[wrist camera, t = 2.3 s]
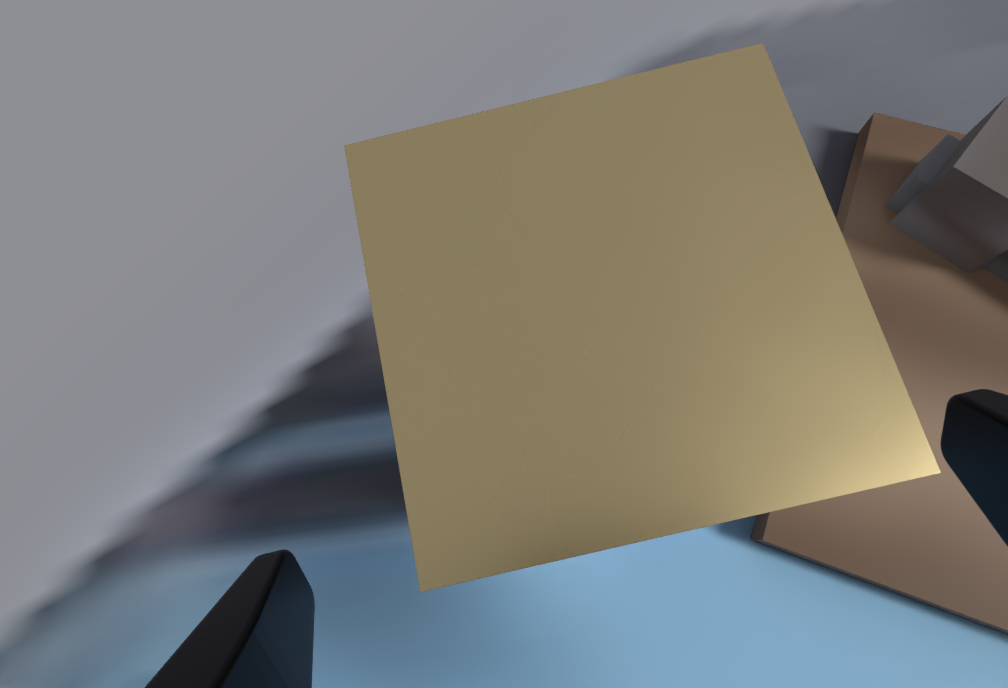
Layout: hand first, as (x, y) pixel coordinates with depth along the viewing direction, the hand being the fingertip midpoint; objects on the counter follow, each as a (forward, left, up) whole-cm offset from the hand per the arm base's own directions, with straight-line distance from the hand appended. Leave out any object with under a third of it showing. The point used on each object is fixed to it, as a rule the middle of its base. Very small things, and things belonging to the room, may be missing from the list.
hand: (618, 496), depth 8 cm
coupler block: (+1, +1, -9) cm, 9 cm away
